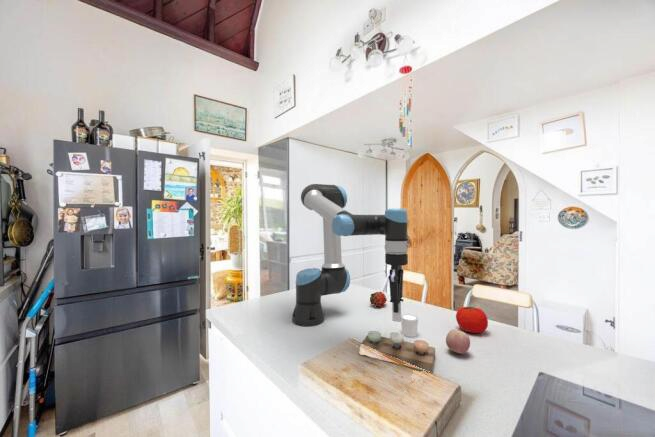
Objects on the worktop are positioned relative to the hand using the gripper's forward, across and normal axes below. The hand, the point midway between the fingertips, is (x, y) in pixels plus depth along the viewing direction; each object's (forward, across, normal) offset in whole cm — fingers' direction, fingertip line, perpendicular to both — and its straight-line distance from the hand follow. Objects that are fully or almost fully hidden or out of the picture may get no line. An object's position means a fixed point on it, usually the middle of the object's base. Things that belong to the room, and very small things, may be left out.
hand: (396, 320), depth 91 cm
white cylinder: (+12, +20, -1) cm, 23 cm away
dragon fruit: (+12, +48, +20) cm, 53 cm away
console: (+12, 0, 0) cm, 12 cm away
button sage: (+12, 0, +8) cm, 14 cm away
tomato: (+13, +35, -24) cm, 44 cm away
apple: (+13, +12, -19) cm, 26 cm away
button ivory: (+11, 0, 0) cm, 11 cm away
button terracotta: (+12, 0, -8) cm, 14 cm away
